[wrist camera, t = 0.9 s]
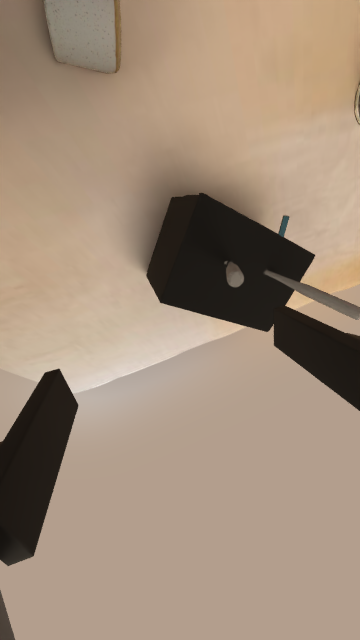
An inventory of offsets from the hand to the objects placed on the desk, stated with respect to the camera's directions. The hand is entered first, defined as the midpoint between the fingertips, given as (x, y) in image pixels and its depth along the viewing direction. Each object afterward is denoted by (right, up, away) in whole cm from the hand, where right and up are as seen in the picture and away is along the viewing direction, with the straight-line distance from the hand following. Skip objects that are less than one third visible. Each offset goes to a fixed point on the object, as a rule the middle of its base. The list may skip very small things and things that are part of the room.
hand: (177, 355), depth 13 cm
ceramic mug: (-13, +41, +16) cm, 46 cm away
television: (+5, +16, +35) cm, 39 cm away
